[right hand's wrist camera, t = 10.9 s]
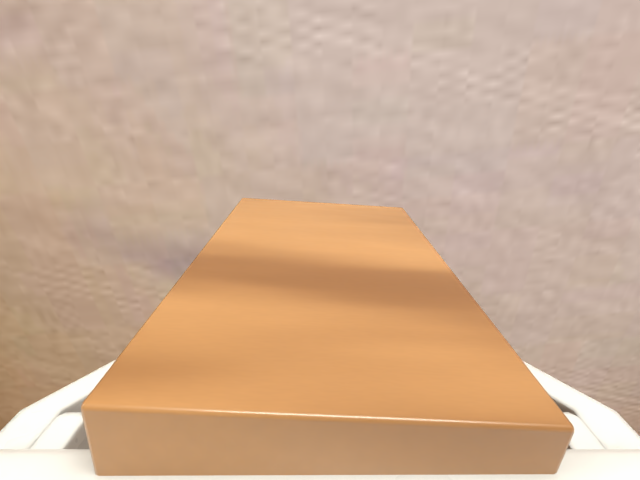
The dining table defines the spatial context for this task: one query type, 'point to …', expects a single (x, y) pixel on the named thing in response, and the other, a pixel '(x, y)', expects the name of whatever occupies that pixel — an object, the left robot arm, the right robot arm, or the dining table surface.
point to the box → (321, 361)
